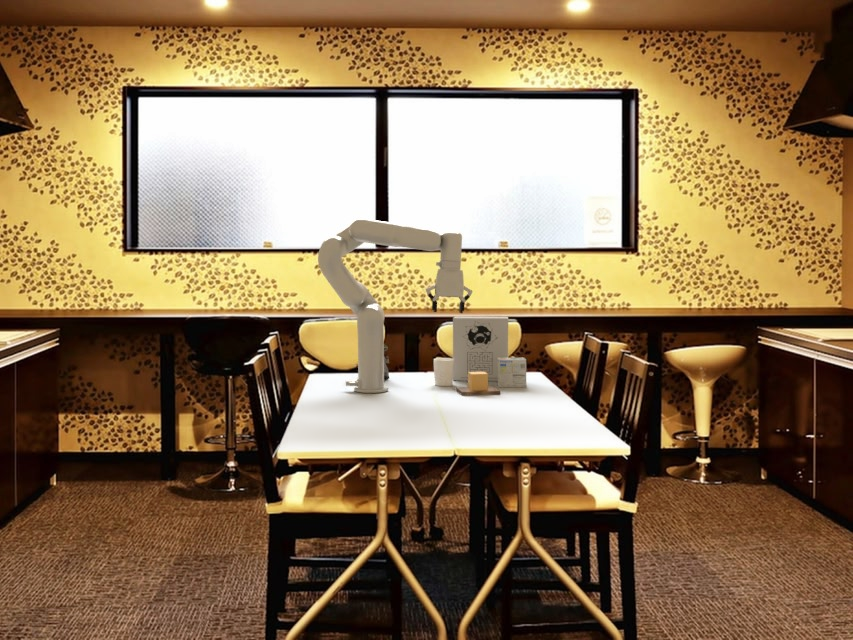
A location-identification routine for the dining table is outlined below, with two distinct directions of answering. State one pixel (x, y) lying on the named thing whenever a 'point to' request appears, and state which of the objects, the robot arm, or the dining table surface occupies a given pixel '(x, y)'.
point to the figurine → (386, 373)
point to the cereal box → (479, 345)
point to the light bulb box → (511, 372)
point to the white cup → (443, 371)
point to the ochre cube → (477, 381)
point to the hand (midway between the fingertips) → (447, 312)
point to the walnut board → (467, 391)
